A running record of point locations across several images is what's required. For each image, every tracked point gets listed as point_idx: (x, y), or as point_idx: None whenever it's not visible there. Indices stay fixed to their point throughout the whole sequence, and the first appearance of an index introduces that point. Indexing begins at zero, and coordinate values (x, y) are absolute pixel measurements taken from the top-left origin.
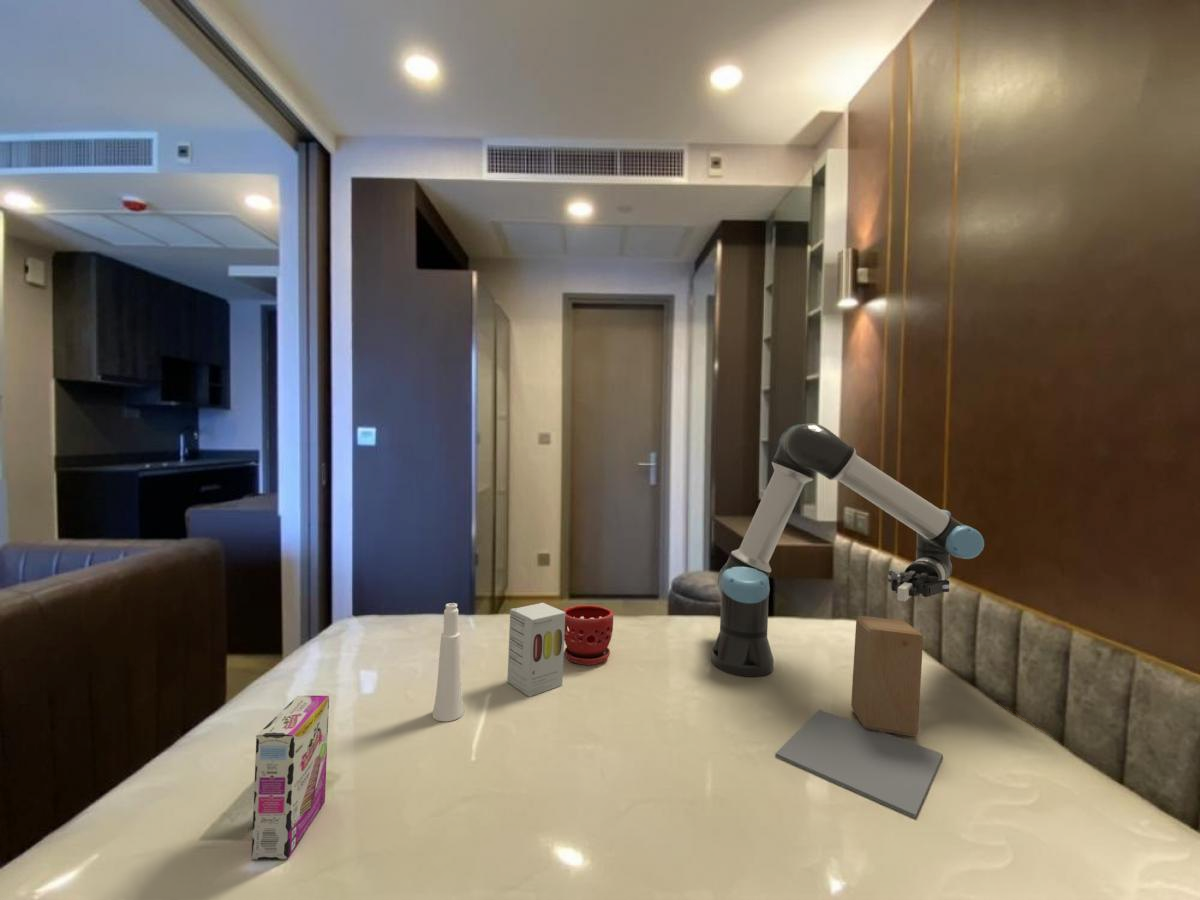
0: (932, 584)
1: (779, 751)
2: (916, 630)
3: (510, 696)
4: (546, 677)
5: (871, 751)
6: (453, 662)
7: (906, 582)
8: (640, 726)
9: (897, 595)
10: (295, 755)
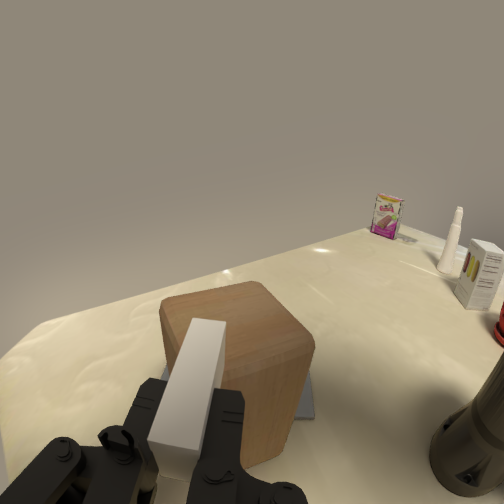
0: (15, 482)
1: None
2: (169, 316)
3: None
4: (462, 290)
5: None
6: (447, 238)
7: (188, 496)
8: (394, 306)
9: (224, 349)
10: (377, 201)
